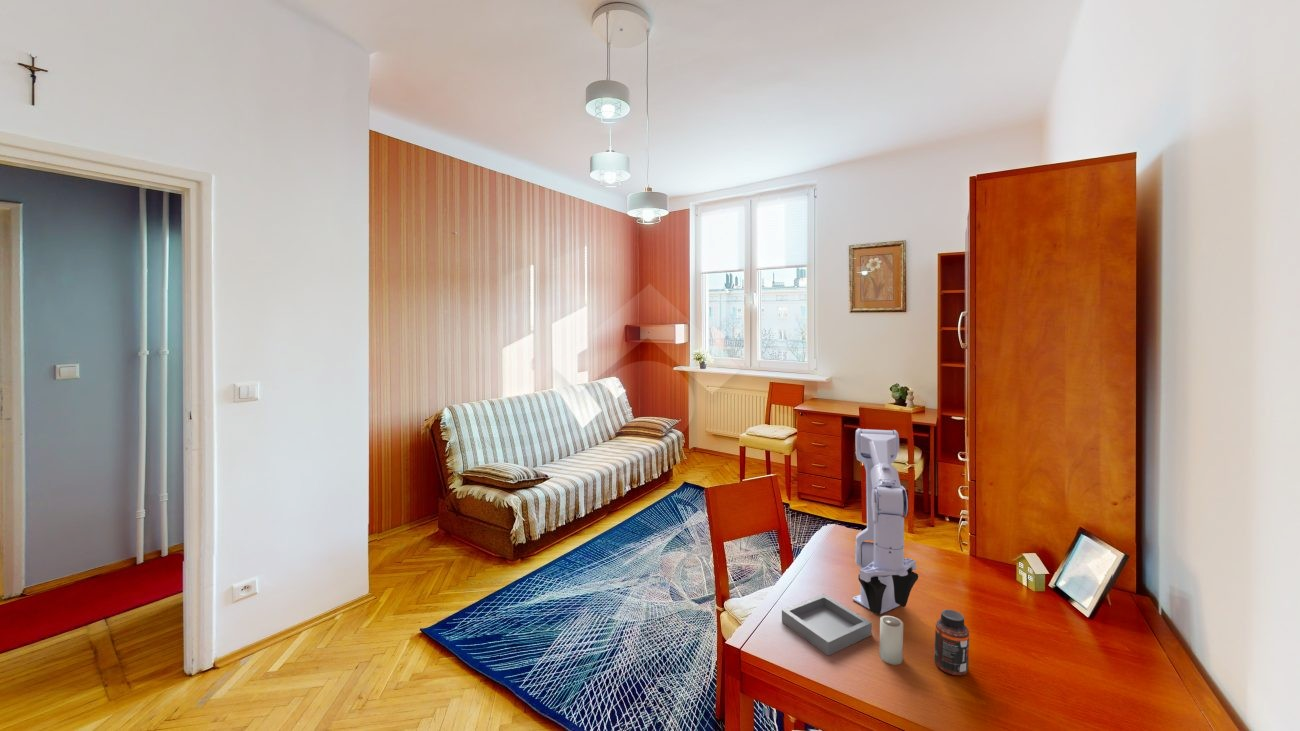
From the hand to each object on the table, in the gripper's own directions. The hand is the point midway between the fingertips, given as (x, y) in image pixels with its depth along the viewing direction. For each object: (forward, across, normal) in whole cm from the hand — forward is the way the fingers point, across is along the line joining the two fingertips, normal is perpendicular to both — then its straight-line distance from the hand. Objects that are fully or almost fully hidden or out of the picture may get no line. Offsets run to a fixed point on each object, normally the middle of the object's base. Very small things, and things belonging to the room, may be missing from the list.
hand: (887, 608), depth 104 cm
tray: (+10, -4, +14) cm, 18 cm away
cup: (+11, +1, 0) cm, 11 cm away
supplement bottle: (+11, +10, -7) cm, 16 cm away
